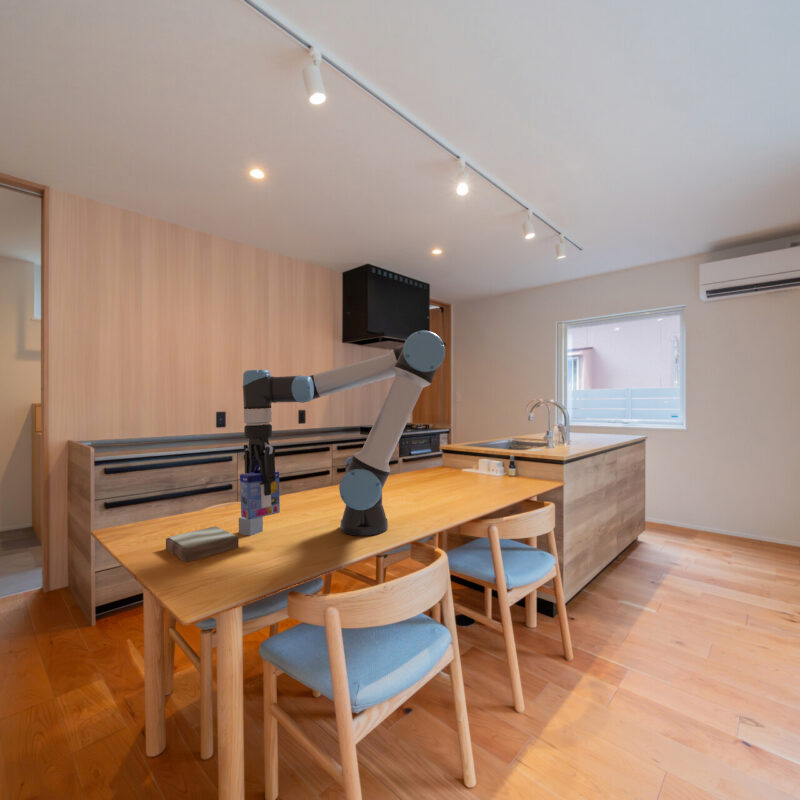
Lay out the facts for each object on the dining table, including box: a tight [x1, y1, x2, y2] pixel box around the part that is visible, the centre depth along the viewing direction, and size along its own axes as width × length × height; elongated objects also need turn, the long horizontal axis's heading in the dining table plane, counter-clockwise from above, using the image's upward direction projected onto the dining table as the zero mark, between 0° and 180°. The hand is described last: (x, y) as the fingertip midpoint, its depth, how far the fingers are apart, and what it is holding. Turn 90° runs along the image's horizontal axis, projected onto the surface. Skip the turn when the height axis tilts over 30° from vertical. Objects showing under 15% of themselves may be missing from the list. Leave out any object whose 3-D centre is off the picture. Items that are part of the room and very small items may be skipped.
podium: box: [165, 525, 240, 563], centre depth 114 cm, size 14×14×3 cm
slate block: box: [238, 516, 264, 537], centre depth 128 cm, size 5×5×5 cm
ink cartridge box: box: [239, 465, 281, 520], centre depth 117 cm, size 10×6×14 cm, turn 137°
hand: (260, 504), depth 117 cm, fingers closed on ink cartridge box, 5 cm apart
